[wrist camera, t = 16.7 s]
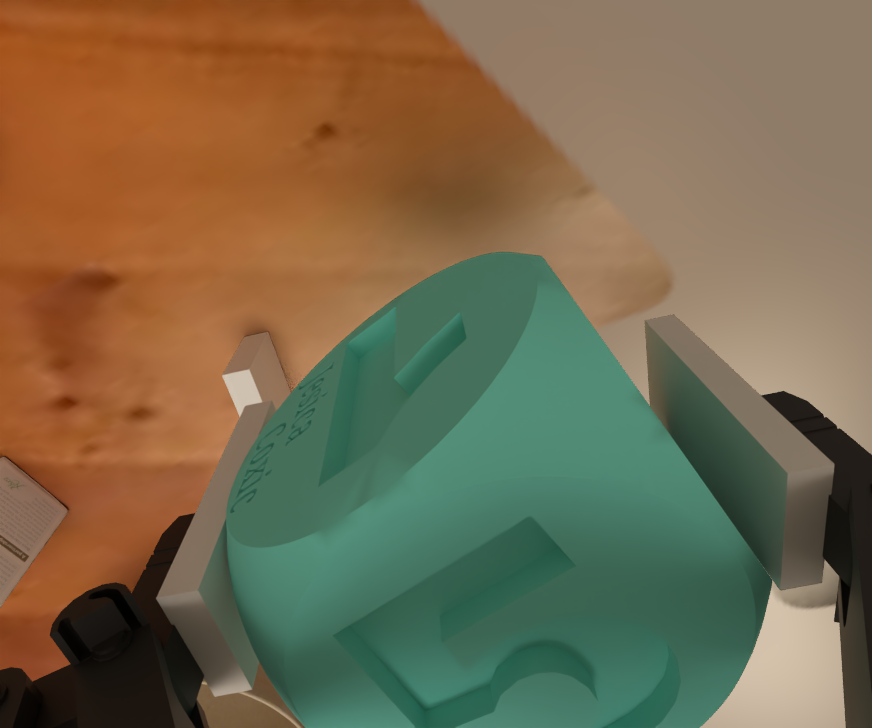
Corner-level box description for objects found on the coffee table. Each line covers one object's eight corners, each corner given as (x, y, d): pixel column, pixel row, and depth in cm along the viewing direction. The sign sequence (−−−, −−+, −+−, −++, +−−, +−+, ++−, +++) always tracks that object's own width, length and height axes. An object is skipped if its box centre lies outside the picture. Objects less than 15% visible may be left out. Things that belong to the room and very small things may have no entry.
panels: (526, 492, 43) (540, 542, 38) (322, 533, 44) (312, 587, 39) (487, 283, 36) (499, 314, 31) (244, 336, 36) (222, 375, 32)
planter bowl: (372, 595, 47) (364, 735, 37) (279, 712, 52) (250, 860, 43) (171, 513, 42) (102, 648, 32) (93, 650, 48) (15, 801, 38)
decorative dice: (508, 209, 14) (612, 350, 7) (662, 429, 17) (843, 680, 10) (265, 393, 16) (158, 649, 9) (443, 562, 19) (467, 854, 12)
